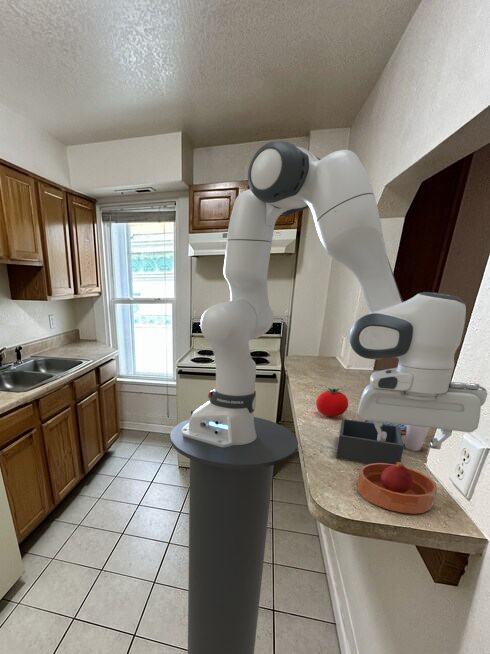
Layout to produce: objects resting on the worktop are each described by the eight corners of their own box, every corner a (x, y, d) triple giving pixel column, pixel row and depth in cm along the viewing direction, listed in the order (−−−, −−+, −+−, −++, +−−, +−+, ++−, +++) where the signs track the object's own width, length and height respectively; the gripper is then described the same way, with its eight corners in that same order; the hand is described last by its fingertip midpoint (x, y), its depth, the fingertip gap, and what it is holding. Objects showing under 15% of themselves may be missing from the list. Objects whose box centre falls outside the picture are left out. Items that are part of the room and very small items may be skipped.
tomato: (349, 421, 121) (354, 393, 118) (317, 420, 123) (321, 392, 120) (341, 411, 131) (346, 385, 127) (311, 410, 133) (315, 384, 129)
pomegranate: (397, 487, 81) (404, 455, 78) (414, 501, 76) (423, 468, 73) (372, 487, 81) (379, 456, 78) (388, 502, 76) (396, 469, 73)
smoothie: (425, 454, 97) (438, 406, 92) (398, 449, 101) (409, 402, 96) (426, 446, 102) (439, 400, 97) (400, 441, 106) (411, 396, 101)
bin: (335, 458, 96) (339, 435, 94) (338, 438, 108) (341, 418, 106) (398, 469, 90) (404, 445, 88) (393, 447, 102) (398, 426, 100)
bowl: (356, 504, 76) (360, 486, 74) (357, 474, 88) (360, 458, 86) (437, 522, 70) (443, 503, 68) (426, 488, 81) (430, 470, 80)
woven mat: (375, 433, 111) (376, 427, 111) (362, 421, 121) (363, 416, 120) (410, 435, 110) (412, 429, 109) (395, 422, 120) (396, 417, 119)
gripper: (485, 380, 67) (465, 446, 72) (363, 372, 76) (353, 431, 81) (495, 388, 62) (474, 459, 67) (363, 378, 71) (353, 441, 76)
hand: (407, 444), depth 74 cm, fingers open, 8 cm apart
